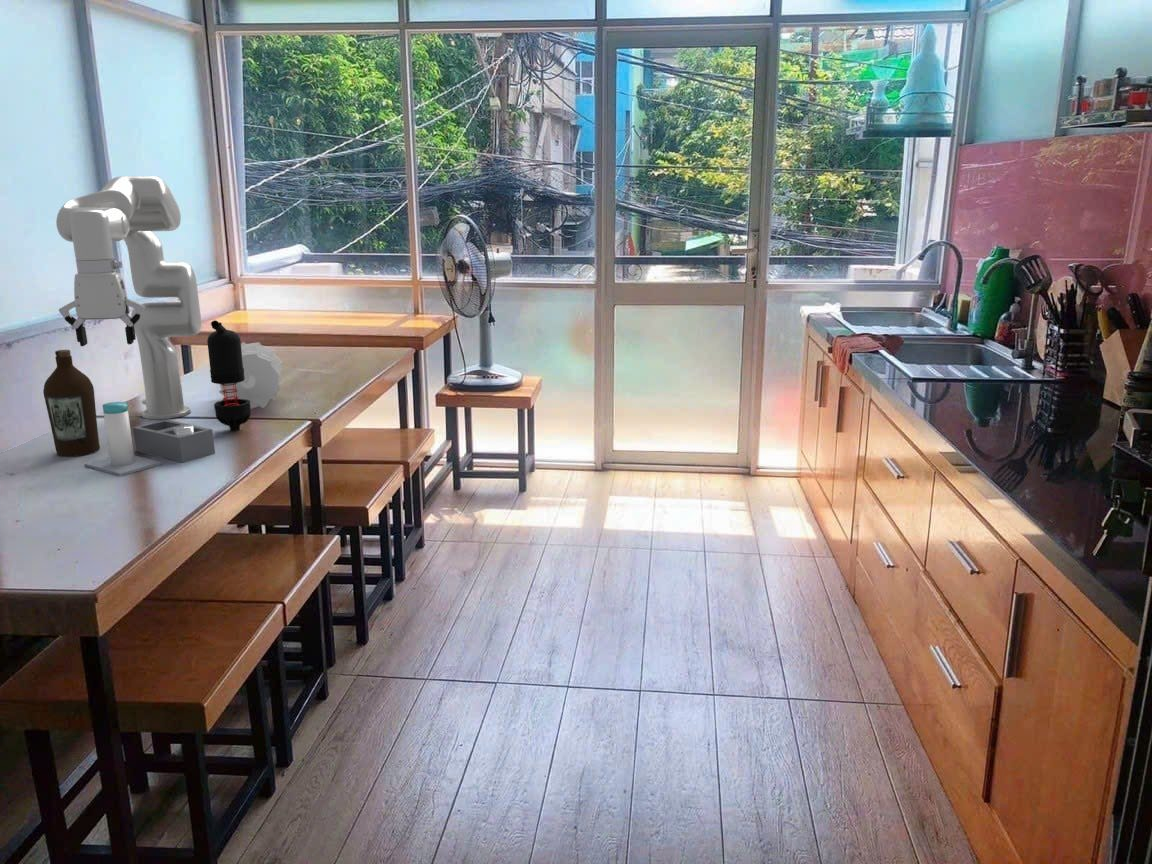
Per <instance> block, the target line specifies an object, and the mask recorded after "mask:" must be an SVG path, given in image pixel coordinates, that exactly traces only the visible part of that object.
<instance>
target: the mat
mask: <svg viewBox="0 0 1152 864" xmlns="http://www.w3.org/2000/svg"><path fill="white" fill-rule="evenodd" d="M134 460H135V462H134V463H132V464H129V465H124V466H113V465H111V462H110V456H109V457H105V458H101V459H97V460H94V461H89V462H87V463H86V462H85V463H84V467H87V468H91V469H93V468H94V470H98V471H101V472H106V473H109V474H112V473H113V475H116V476H119V475H120V477H122V475H123V476H126V475H130V474H133V473H136V471H137V472H139V471H142V470H143V469H144V470H146V468H147V469H150V468H153V467H157V466H161V464H162V462H161V461H160V460H159V461H158V460H155V459H150V458H147V457H143V456H139V455H135V454H134ZM149 467H150V468H149ZM129 473H130V474H129Z"/></svg>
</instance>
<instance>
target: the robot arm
mask: <svg viewBox="0 0 1152 864" xmlns="http://www.w3.org/2000/svg"><path fill="white" fill-rule="evenodd" d="M181 219H182V217H181V210H180V207H179V205H178V203H177V201H176V199H175V197H174V195H173V193H172V191H171V189H170V188H169V186H168V184H166V183H165V181H164V180H163V179H161V178H159V176H153V175H151V176H150V175H149V176H148V175H147V176H144V175H143V176H142V175H141V176H139V175H138V176H137V175H134V176H133V175H131V176H130V175H129V176H126V175H121V176H116V177H113V178H112V179H110V180H108V182H106V184H105V185H104V186H103V187H102V189H101V190H100V191H95V192H92V193H89V194H86V195H82V196H79V197H75V198H72V199H70V200H68V201H66V202H65V203H64V204H63V205H62V206H61V207H60V209H59V210H58V212H57V216H56V221H55V223H56V229H57V232H58V234H59V236H60V237H61V238H62V239H63V240H64V241H67V242H69V243H72V244H73V251H74V257H75V263H76V270H77V271H76V272H77V273H76V274H74V281H73V285H74V286H73V289H74V290H73V292H74V293H73V294H74V295H73V296H74V300H73V301H71V302H69V303H67V304H66V305H64V306H62V307H60V308H59V309H58V312H59V314H60V315H61V316H62V317H63V318H64V320H65V322H66V323H68V324H69V325H70V326H71V327H72V328H73V329H75V335H76V342H77V343H79V346H80V347H85V346H86V345H88V337H87V330H86V329H87V328H86V327H85V326H84V323H85V322H86V321H87V320H89V321H93V320H94V321H95V320H117V319H118V320H119V319H120V320H121V321H122V322H123V323H124V324H126V326H125V327H124V329H125V330H124V331H125V337H126V344H127V345H132V344H134V341H136V340H137V344H138V345H137V346H138V349H139V357H140V363H141V369H142V379H143V385H144V393H145V399H142V400H141V403H142V405H145V407H146V408H145V410H142V412H141V417H142V418H144V419H147V420H170V419H174V418H180V417H184V416H187V415H189V414H190V413H191V407H190V406H188V405H185V404H184V394H183V387H182V379H181V372H180V371H181V369H180V363H179V355H178V351H177V349H176V347H174V345H173V343H172V342H170V341H169V340H168V338H174V337H179V338H180V337H192V336H193V337H194V336H196V335H198V334H199V333H201V329H202V316H201V315H202V314H201V308H200V307H201V306H200V299H199V291H198V284H197V278H196V274H195V270H194V269H193V267H192V266H191V265H190V264H188V263H187V262H183V261H172V262H171V261H170V262H169V261H165V258H164V252H163V251H164V250H163V244H162V242H161V240H160V239H159V237H158V236H157V235H156V234H155V233H154V232H172V231H175V230H177V229H179V227H180V225H181ZM122 240H123V241H124V243H125V245H126V247H127V252H128V259H129V266H130V267H129V268H130V275H131V281H132V287H133V289H134V293H135V294H136V295H137V296H139V297H142V298H146V299H147V298H149V299H150V298H151V299H155V298H156V299H157V298H159V299H160V298H164V299H165V298H178V300H179V301H169V302H168V301H167V302H166V301H163V302H161V301H160V302H144V303H139V302H136V301H134V300H132V299H129V298H128V296H127V291H126V286H125V283H124V280H123V276H122V274H121V272H117V270H118V269H119V268H120V269H121V268H123V263H122V261H118V260H116V258H115V255H114V248H113V242H114V243H115V242H120V241H122ZM130 308H132V311H131V314H130ZM72 309H75V313H76V317H77V318H74V316H73V315H71V314H70V313H71V312H70V310H72ZM129 314H130V315H131V316H130V315H129Z"/></svg>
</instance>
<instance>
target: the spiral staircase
mask: <svg viewBox="0 0 1152 864" xmlns="http://www.w3.org/2000/svg"><path fill="white" fill-rule="evenodd" d="M241 350H242V361H243V368H244V376H245V377H244V378H245V379H244V381H242V382H238V383H237V384H235V385H236V389H237V390H238V391H237V392H233V393H227V397H230V396H234V393H235V396H236V393H237V397H238V399H247V400H249V401H250V407H251V410H252V409H255V408H258V407H261V408H262V409H264V408H265V407H266V406H267V405H268V404H269V402H270V401H272V399H273V400H277V396H278V392H280V391H281V385H280V383H281V382H280V381H281V380H282V379H283V375H282V369H281V365H283V361H282V360H280V358H279V357H278V356H277V355H276V354H275V349H273V348H270V347H267V346H264V345H262V344H261V341H260V342H253V343H245V341H242V342H241ZM232 384H234V383H232ZM226 385H227V384H226ZM235 385H234V389H235ZM219 387H220V390H219V391H218V393H219V394H221V395H222V396H224V393H223V392H222V391H223V390H227V389H233V385H230V386H226V387H225V386H223V385H222V384H219ZM232 391H235V390H228V391H227V392H232ZM225 392H226V391H225ZM225 397H226V393H225ZM225 397H224V398H225ZM226 399H234V397H231V398H226Z"/></svg>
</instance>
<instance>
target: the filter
mask: <svg viewBox="0 0 1152 864" xmlns="http://www.w3.org/2000/svg"><path fill="white" fill-rule="evenodd" d="M222 324H223V323H222V322H219V320H212V321H211V322H210V326H211V329H213V330H214V331H213V332H211V333H210V334H209V335H208V337H207V342H206V343H207V350H208V351H207V353H208V361H209V362H208V363H209V368H210V369H209V374H210V382H211V383H212V384H216V385H217V384H219V385H220V384H222V385H223V386H225V387H226V386H230V385H233V389H227V390H223V391H222V392H223V393H224V395H223V398H222V399H223V400H218V401H216V402H215V403H214V404H213V406H214V413H215V417H216V419H217V421H218V422H219V423H221V424H223V425H225V426H228V427H229V429H230V431H231V432H237V431H240V430H241V425H243V424H245V423H247V422H248V420H249V419H250V417H251V412H252V409H251V407H250V401H249V400H247V399H238V397H237V393H236V396H235V393H234V396H230V397H227V393H233V392H237V391H238V390H237V389H236V385H235V384H237V383H238V382H242V381H244V379H245V378H244V377H245V376H244V368H243V361H242V350H241V343H242V342H241V337H240V336H239V334H238V333H237V332H235V331H233V330H229V329H226V327H225V326H224V325H222ZM232 383H234V384H232ZM226 384H227V385H226ZM234 385H235V389H234ZM228 390H235V391H232V392H227V391H228ZM225 391H226V392H225ZM225 393H226V397H225ZM231 397H234V399H227V398H231Z"/></svg>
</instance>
